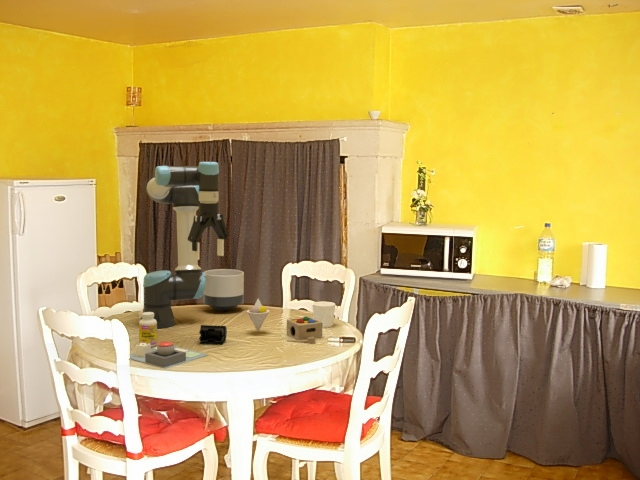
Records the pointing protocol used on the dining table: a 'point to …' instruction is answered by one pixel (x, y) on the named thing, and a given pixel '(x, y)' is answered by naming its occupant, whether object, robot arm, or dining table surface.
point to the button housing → (165, 358)
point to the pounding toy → (304, 330)
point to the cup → (324, 312)
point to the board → (189, 353)
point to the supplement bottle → (148, 329)
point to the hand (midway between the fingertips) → (208, 257)
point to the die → (142, 349)
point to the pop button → (165, 349)
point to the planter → (224, 288)
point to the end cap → (212, 335)
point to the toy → (258, 314)
